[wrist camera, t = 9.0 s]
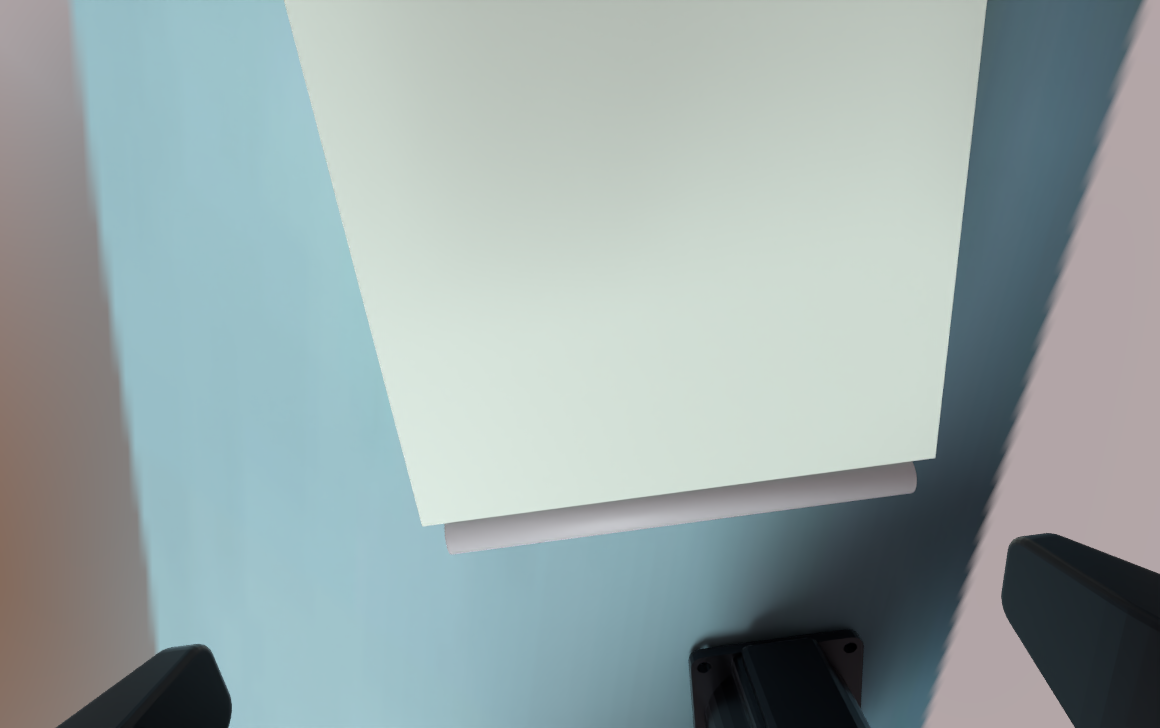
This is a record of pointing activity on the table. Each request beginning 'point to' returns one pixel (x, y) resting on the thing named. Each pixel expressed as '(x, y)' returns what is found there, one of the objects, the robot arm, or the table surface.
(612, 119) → the lid
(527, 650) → the table surface
